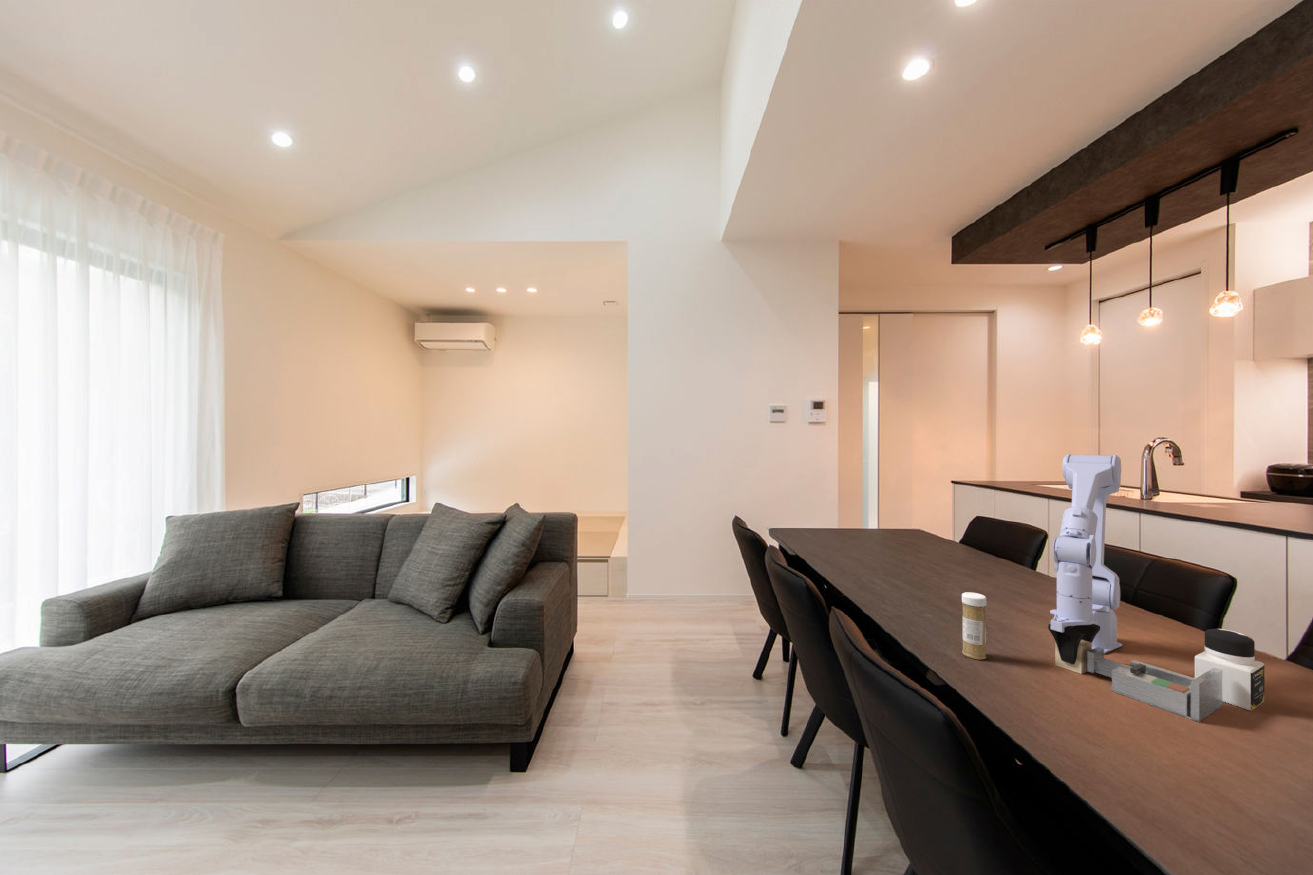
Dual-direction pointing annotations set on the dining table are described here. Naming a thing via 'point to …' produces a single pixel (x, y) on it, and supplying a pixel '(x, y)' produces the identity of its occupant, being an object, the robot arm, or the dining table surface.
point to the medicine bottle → (1233, 667)
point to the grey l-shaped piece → (1108, 664)
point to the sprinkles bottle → (974, 625)
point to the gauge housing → (1171, 690)
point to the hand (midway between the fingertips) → (1074, 659)
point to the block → (1081, 659)
